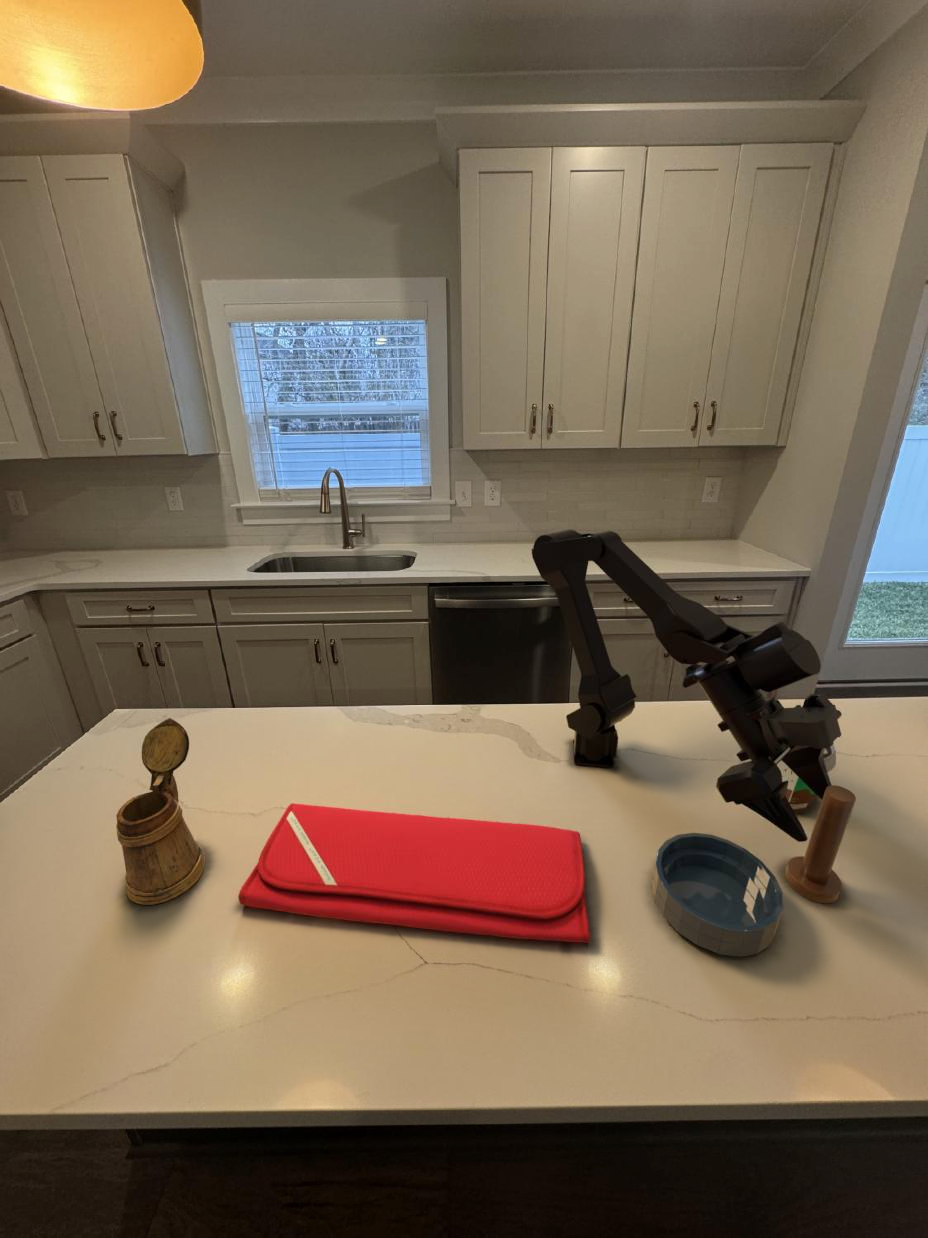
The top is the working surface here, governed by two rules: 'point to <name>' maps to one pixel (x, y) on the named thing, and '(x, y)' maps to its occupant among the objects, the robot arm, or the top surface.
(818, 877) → the stirring pestle
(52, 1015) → the top surface
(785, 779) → the food container
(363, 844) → the red folding pouch
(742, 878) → the bowl
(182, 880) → the wooden mug
